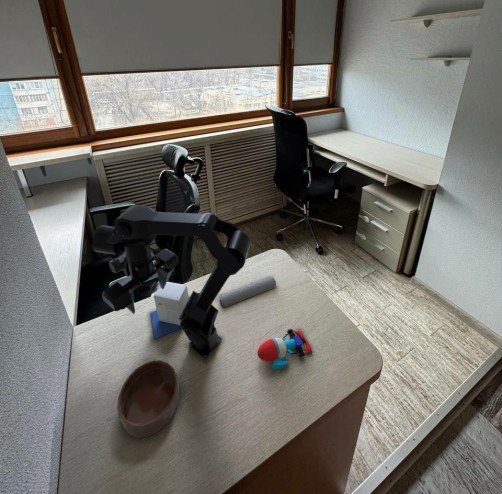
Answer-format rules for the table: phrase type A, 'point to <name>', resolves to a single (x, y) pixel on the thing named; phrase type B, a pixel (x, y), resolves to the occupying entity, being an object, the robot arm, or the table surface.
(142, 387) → the bowl
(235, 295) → the gray half cylinder
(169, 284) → the small box
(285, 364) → the toy figure
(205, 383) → the table surface
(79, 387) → the table surface
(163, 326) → the cloth
